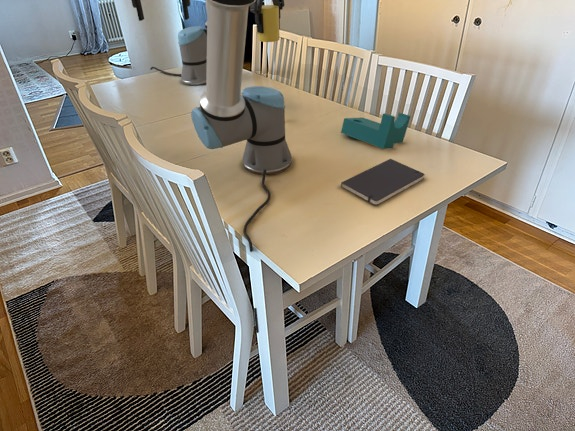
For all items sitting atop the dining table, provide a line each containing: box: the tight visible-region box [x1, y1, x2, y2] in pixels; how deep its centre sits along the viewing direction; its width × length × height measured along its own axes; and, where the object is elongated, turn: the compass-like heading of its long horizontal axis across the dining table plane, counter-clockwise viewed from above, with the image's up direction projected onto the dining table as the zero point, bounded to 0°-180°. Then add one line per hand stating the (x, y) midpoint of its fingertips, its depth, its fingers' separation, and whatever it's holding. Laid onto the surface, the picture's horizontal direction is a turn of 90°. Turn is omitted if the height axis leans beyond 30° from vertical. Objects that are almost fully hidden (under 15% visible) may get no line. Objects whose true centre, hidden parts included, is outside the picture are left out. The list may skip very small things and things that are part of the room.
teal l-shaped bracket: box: [340, 112, 412, 150], centre depth 135 cm, size 18×11×10 cm, turn 43°
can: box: [257, 4, 281, 43], centre depth 149 cm, size 8×8×11 cm
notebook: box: [340, 158, 425, 206], centre depth 114 cm, size 13×2×21 cm
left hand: (268, 30), depth 151 cm, fingers closed on can, 8 cm apart
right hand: (164, 19), depth 120 cm, fingers open, 13 cm apart
